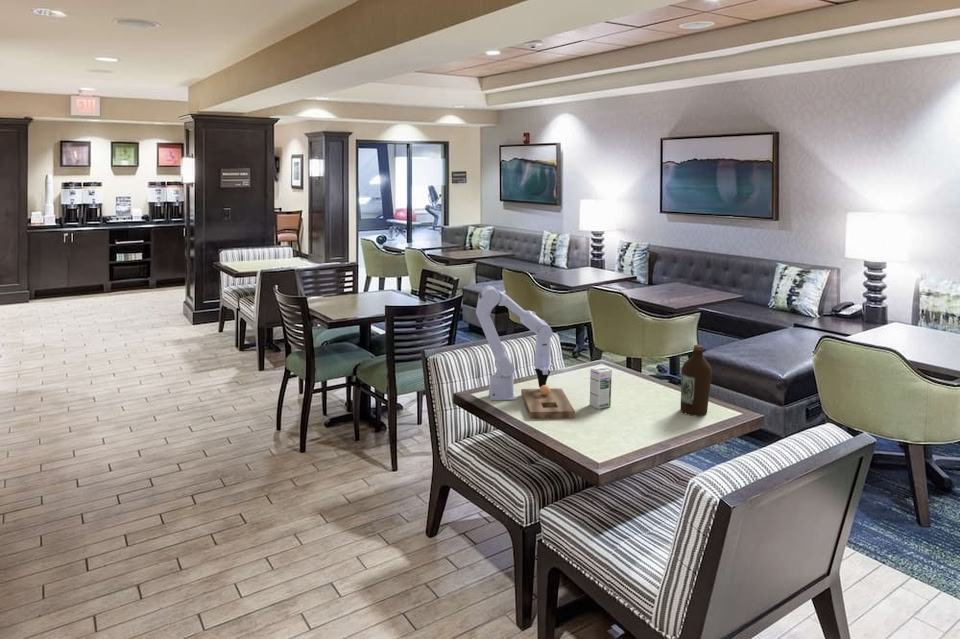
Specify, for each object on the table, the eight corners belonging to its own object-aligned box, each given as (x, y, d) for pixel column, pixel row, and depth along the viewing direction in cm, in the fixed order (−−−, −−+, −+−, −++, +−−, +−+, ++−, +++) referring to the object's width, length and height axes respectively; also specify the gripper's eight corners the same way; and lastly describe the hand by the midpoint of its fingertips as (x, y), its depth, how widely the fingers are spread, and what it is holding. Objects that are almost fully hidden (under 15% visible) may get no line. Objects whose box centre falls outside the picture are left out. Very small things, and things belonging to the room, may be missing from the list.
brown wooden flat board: (530, 418, 240) (530, 412, 240) (521, 395, 266) (521, 389, 265) (574, 417, 241) (574, 411, 241) (561, 394, 267) (561, 388, 266)
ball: (540, 397, 256) (540, 387, 255) (538, 393, 260) (539, 383, 259) (550, 396, 256) (551, 386, 255) (549, 393, 260) (549, 383, 259)
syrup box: (598, 409, 250) (600, 371, 247) (588, 404, 255) (590, 367, 252) (610, 407, 253) (612, 369, 249) (601, 402, 258) (602, 365, 255)
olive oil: (694, 405, 255) (699, 341, 250) (715, 414, 246) (720, 347, 240) (672, 409, 251) (676, 343, 245) (692, 418, 241) (697, 350, 236)
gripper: (556, 358, 255) (555, 392, 258) (549, 348, 269) (549, 381, 272) (537, 358, 254) (537, 393, 257) (532, 349, 268) (531, 381, 271)
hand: (542, 387), depth 264 cm, fingers closed
